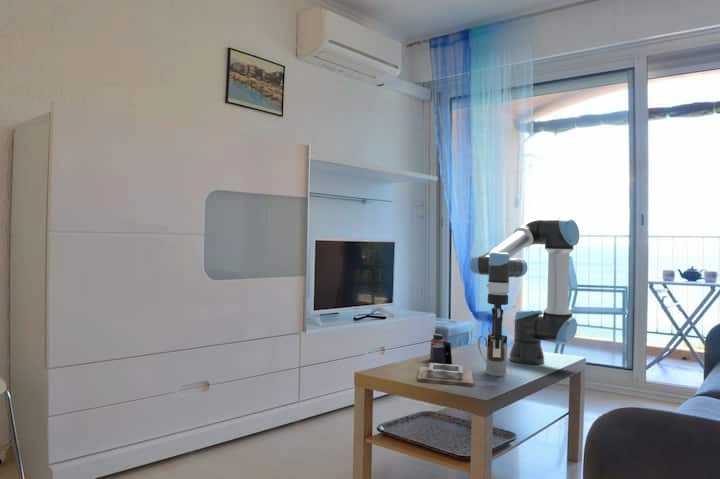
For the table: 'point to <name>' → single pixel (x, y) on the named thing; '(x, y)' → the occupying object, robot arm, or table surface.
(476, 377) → the table surface
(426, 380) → the socket plate
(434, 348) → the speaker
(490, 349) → the utensil holder
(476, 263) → the robot arm
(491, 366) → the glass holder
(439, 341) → the supplement bottle
